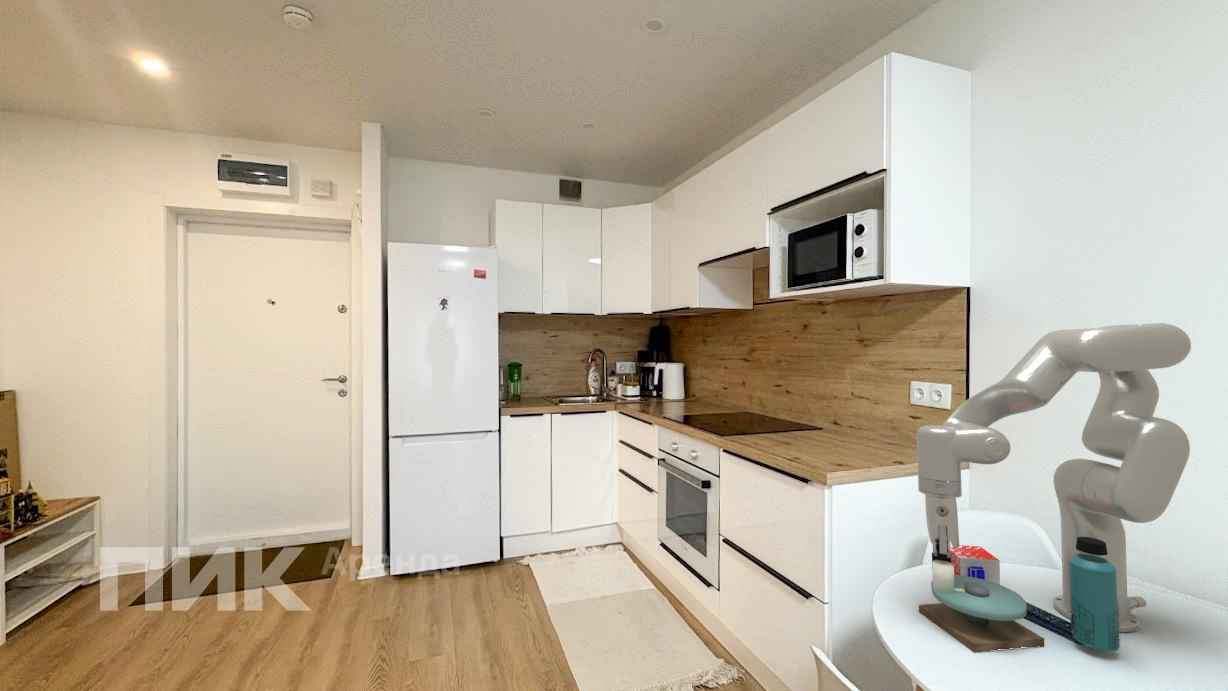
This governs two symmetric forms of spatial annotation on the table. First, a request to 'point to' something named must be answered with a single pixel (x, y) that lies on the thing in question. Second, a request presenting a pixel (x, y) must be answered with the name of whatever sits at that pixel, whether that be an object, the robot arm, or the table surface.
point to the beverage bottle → (1094, 597)
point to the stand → (980, 629)
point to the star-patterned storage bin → (975, 563)
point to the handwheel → (975, 595)
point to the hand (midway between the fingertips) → (941, 574)
